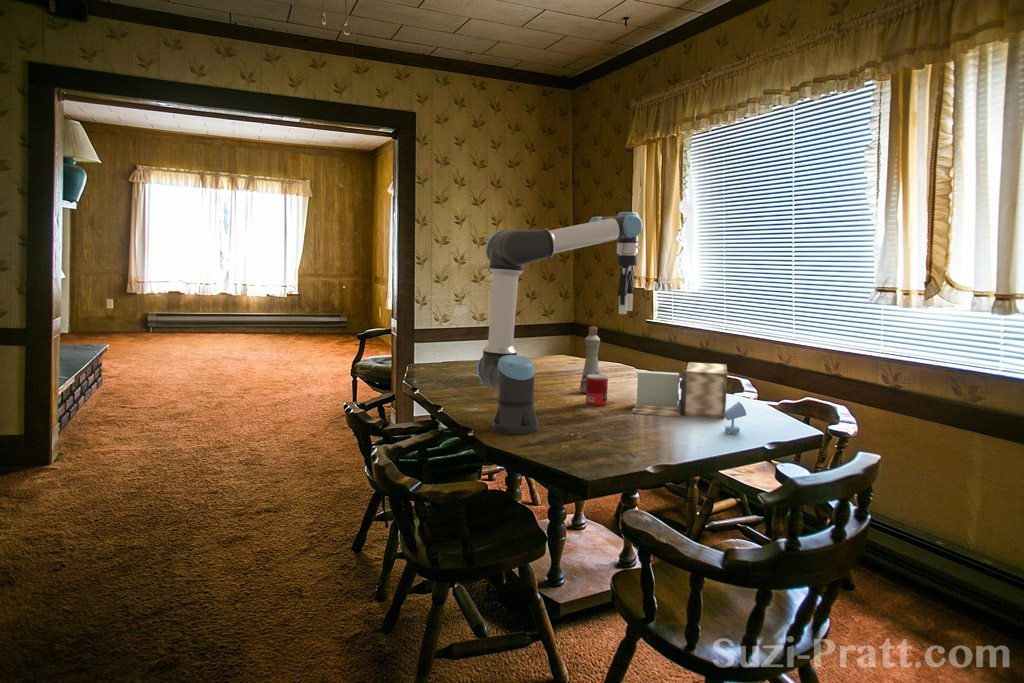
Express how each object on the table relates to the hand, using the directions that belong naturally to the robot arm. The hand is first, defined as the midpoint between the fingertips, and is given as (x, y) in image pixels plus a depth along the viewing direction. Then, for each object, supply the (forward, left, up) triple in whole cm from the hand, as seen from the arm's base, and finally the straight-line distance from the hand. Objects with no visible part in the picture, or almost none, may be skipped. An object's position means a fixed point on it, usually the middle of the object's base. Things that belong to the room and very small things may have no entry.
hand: (625, 312), depth 246 cm
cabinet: (+21, +3, -36) cm, 42 cm away
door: (+13, +5, -36) cm, 38 cm away
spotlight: (+40, -25, -36) cm, 59 cm away
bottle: (-16, +20, -36) cm, 44 cm away
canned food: (-10, 0, -36) cm, 37 cm away
